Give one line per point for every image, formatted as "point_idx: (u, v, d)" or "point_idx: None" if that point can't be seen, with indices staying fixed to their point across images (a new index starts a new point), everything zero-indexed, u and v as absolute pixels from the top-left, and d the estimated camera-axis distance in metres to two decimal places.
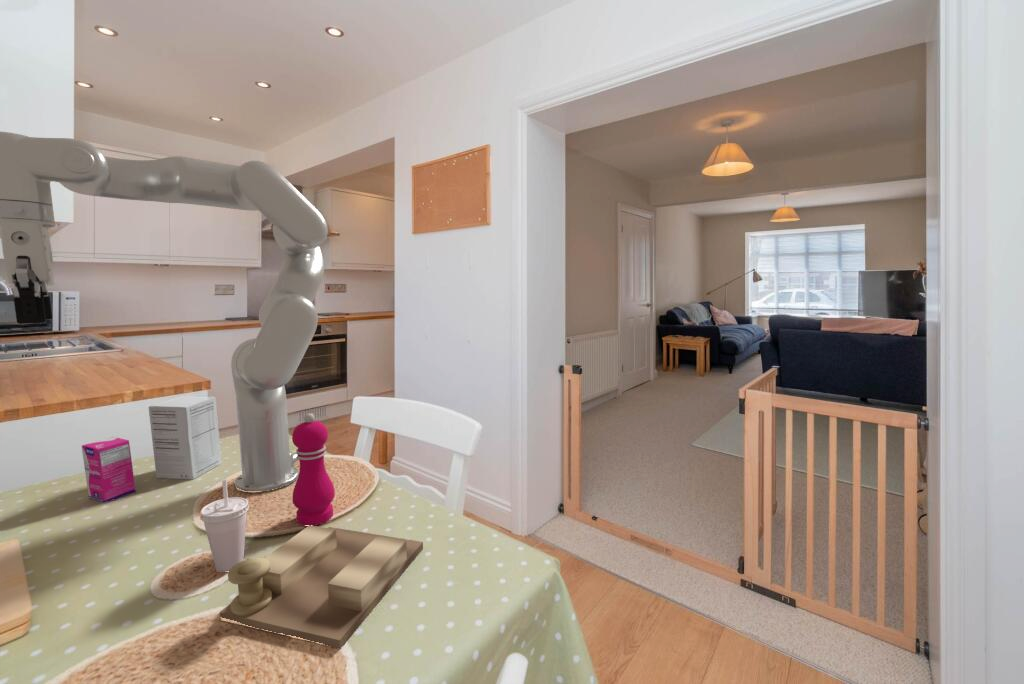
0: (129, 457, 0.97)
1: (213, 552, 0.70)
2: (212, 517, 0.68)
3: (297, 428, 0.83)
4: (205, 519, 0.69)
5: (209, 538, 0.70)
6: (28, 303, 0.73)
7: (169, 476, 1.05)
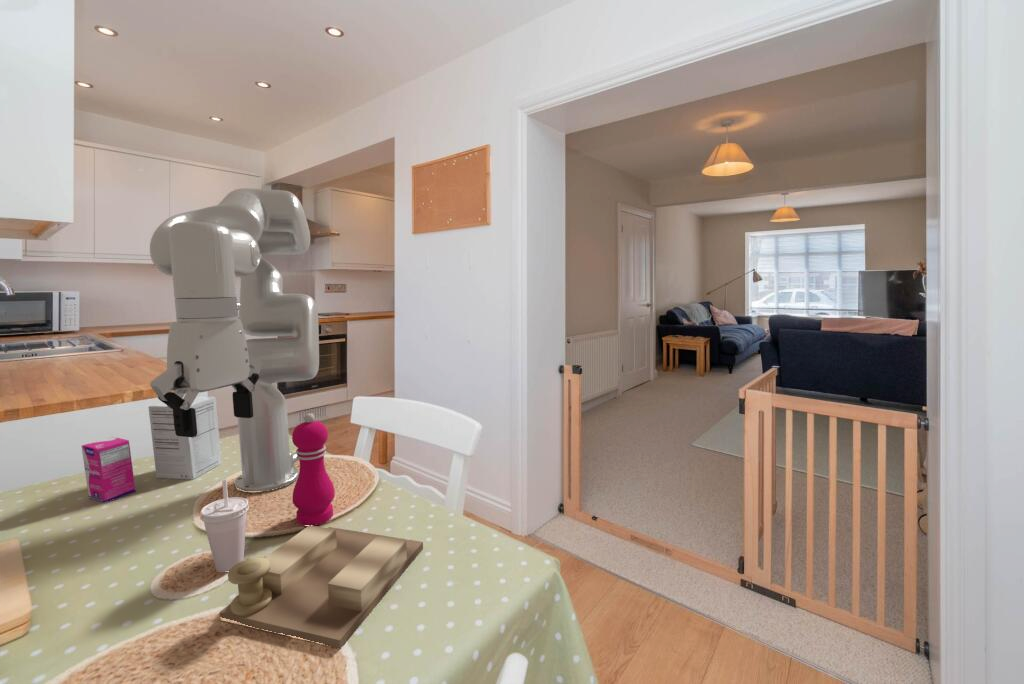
0: (129, 457, 0.97)
1: (213, 552, 0.70)
2: (212, 517, 0.68)
3: (297, 428, 0.83)
4: (205, 519, 0.69)
5: (209, 538, 0.70)
6: None
7: (169, 476, 1.05)
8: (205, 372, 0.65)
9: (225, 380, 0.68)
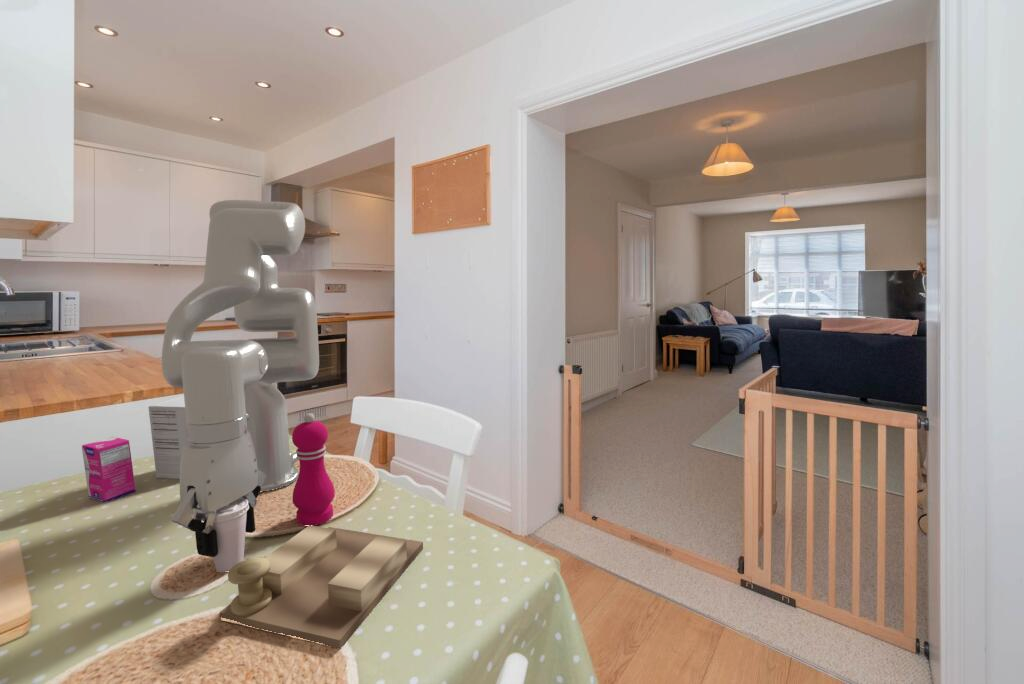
0: (129, 457, 0.97)
1: None
2: None
3: (297, 428, 0.83)
4: None
5: None
6: None
7: (169, 476, 1.05)
8: (216, 494, 0.67)
9: (235, 495, 0.71)
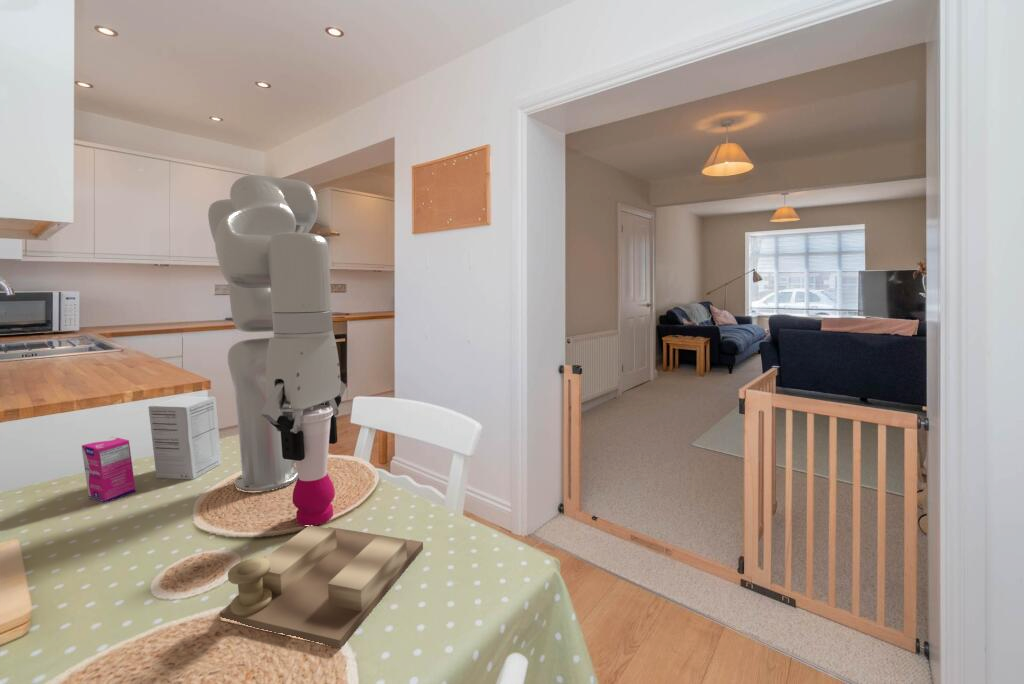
0: (129, 457, 0.97)
1: None
2: None
3: None
4: (291, 420, 0.63)
5: None
6: None
7: (169, 476, 1.05)
8: (305, 390, 0.62)
9: (321, 397, 0.65)
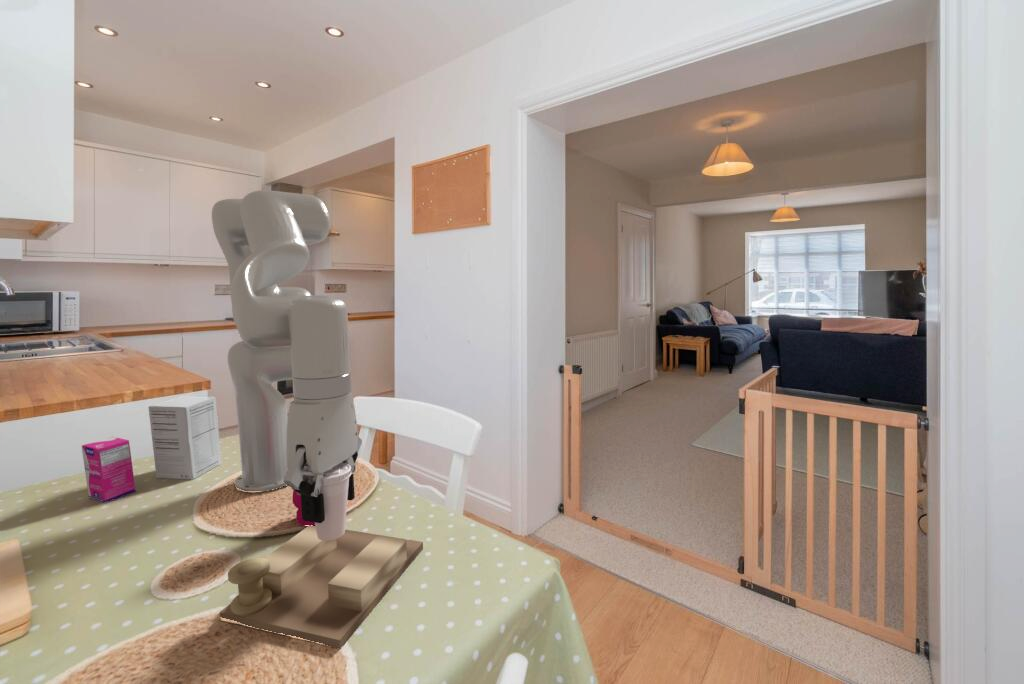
0: (129, 457, 0.97)
1: None
2: None
3: None
4: (311, 482, 0.64)
5: None
6: None
7: (169, 476, 1.05)
8: (325, 454, 0.63)
9: (340, 458, 0.66)
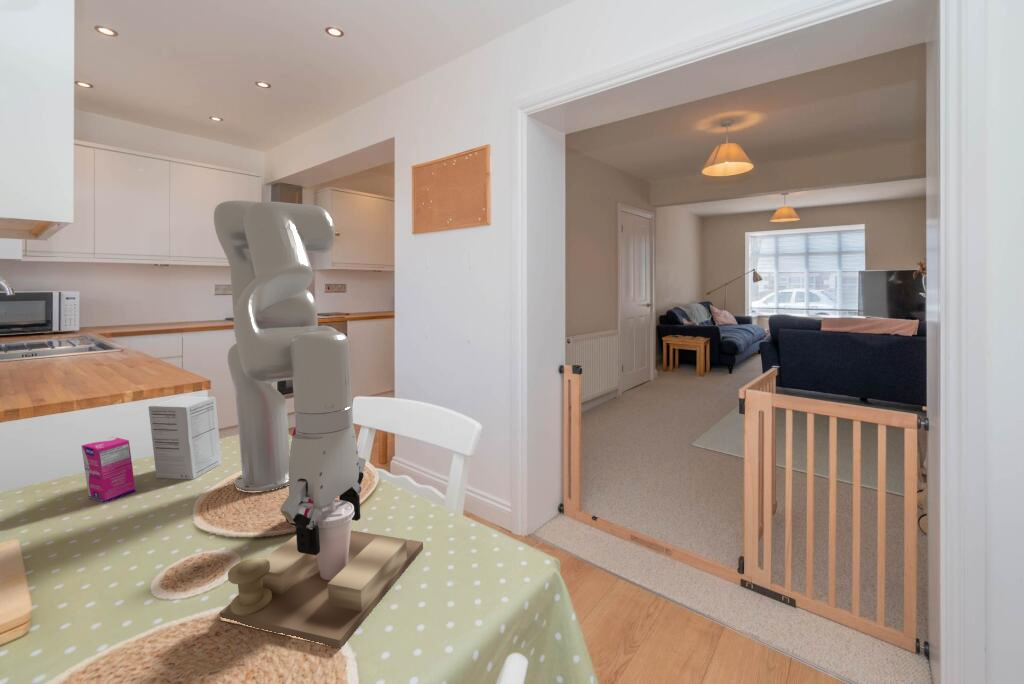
0: (129, 457, 0.97)
1: (320, 559, 0.66)
2: (323, 522, 0.64)
3: None
4: (315, 524, 0.65)
5: None
6: None
7: (169, 476, 1.05)
8: (327, 487, 0.63)
9: (342, 489, 0.67)
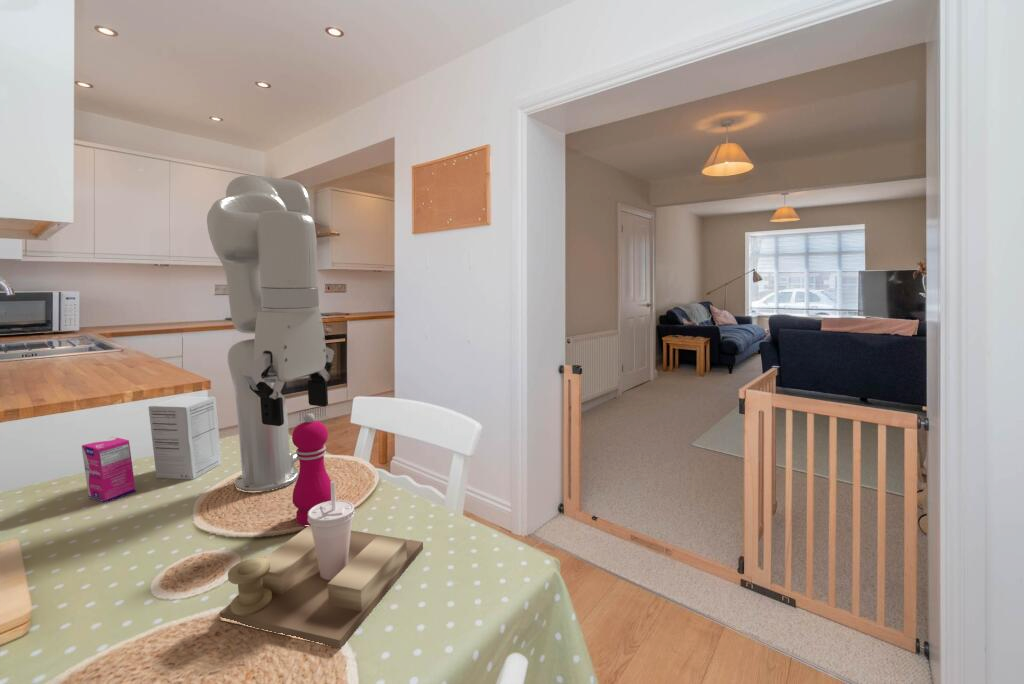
0: (129, 457, 0.97)
1: (320, 558, 0.66)
2: (323, 521, 0.65)
3: (297, 428, 0.83)
4: (315, 523, 0.65)
5: (317, 543, 0.66)
6: None
7: (169, 476, 1.05)
8: (292, 362, 0.65)
9: (307, 369, 0.69)
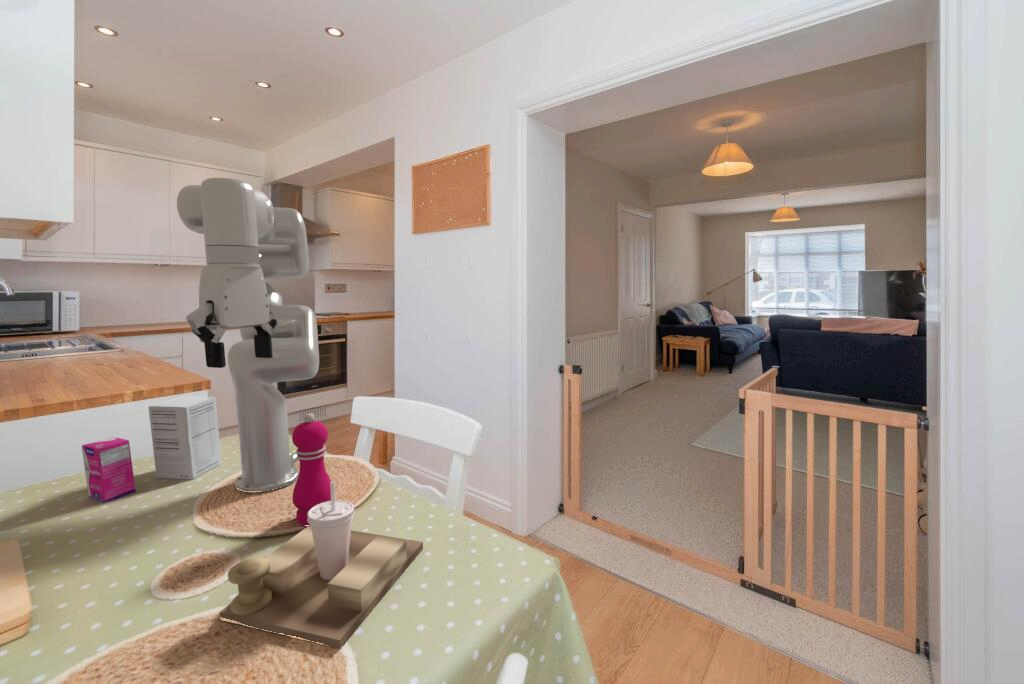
0: (129, 457, 0.97)
1: (320, 558, 0.66)
2: (323, 521, 0.65)
3: (297, 428, 0.83)
4: (315, 523, 0.65)
5: (317, 544, 0.66)
6: None
7: (169, 476, 1.05)
8: (232, 311, 0.74)
9: (249, 320, 0.77)
